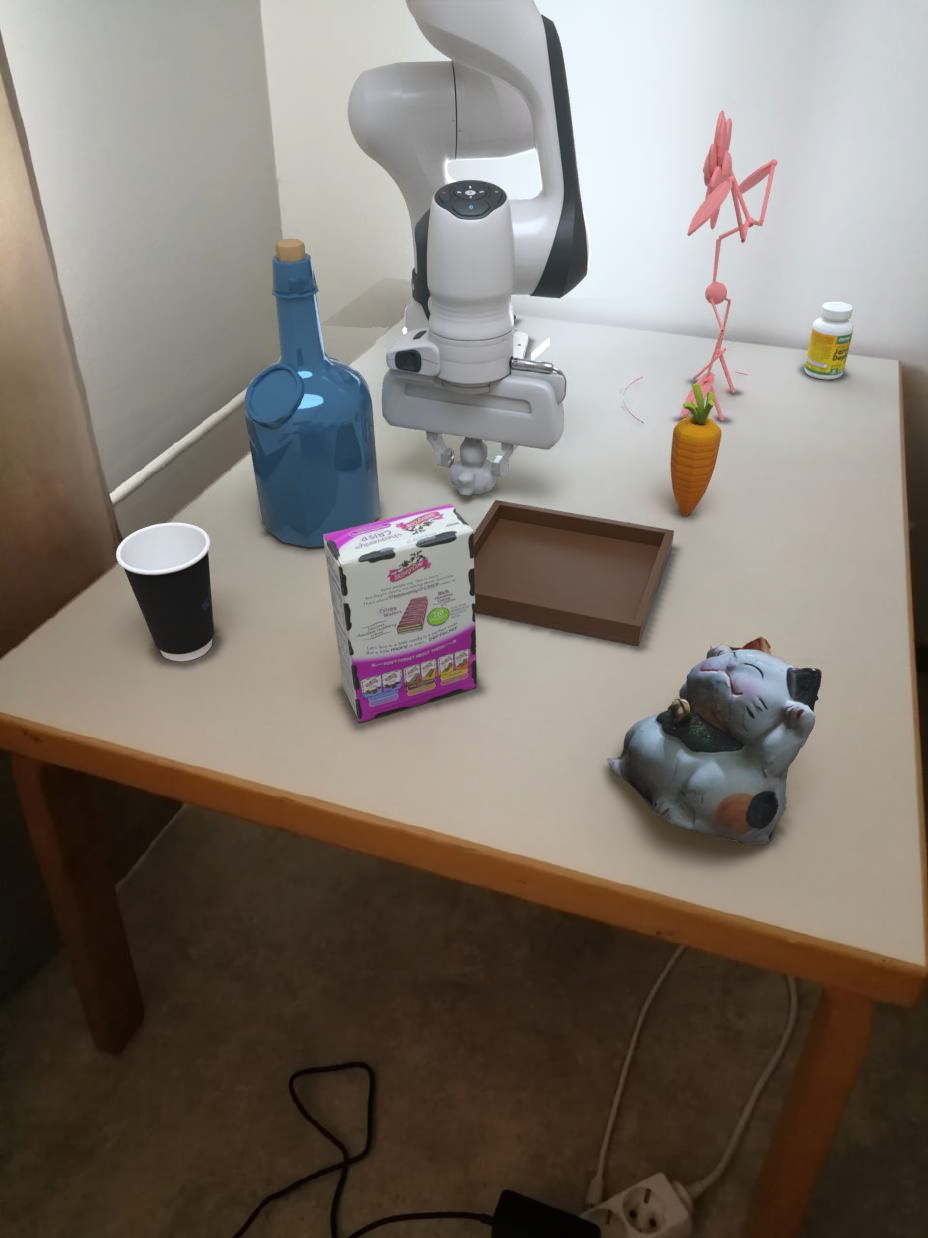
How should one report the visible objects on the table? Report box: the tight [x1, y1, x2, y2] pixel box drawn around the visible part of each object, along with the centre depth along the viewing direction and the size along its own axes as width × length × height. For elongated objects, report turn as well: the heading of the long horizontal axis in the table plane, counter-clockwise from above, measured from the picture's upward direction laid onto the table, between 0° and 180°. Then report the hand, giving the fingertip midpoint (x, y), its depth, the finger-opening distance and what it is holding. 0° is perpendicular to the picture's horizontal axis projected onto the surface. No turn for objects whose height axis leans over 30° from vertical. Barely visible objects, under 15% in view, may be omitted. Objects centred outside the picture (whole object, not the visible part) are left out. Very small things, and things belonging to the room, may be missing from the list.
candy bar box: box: [323, 503, 478, 723], centre depth 80 cm, size 11×5×16 cm, turn 114°
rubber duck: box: [448, 437, 498, 496], centre depth 110 cm, size 5×7×8 cm
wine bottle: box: [244, 238, 381, 548], centre depth 99 cm, size 14×13×30 cm
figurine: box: [619, 109, 778, 424], centre depth 121 cm, size 15×26×35 cm, turn 159°
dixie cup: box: [115, 522, 215, 662], centre depth 87 cm, size 8×8×11 cm
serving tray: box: [473, 499, 675, 647], centre depth 98 cm, size 17×20×2 cm
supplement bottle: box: [804, 300, 854, 380], centre depth 135 cm, size 5×5×10 cm
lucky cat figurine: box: [606, 636, 823, 845], centre depth 72 cm, size 15×12×14 cm
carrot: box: [670, 382, 722, 517], centre depth 103 cm, size 5×5×15 cm
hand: (472, 469), depth 110 cm, fingers closed on rubber duck, 5 cm apart
